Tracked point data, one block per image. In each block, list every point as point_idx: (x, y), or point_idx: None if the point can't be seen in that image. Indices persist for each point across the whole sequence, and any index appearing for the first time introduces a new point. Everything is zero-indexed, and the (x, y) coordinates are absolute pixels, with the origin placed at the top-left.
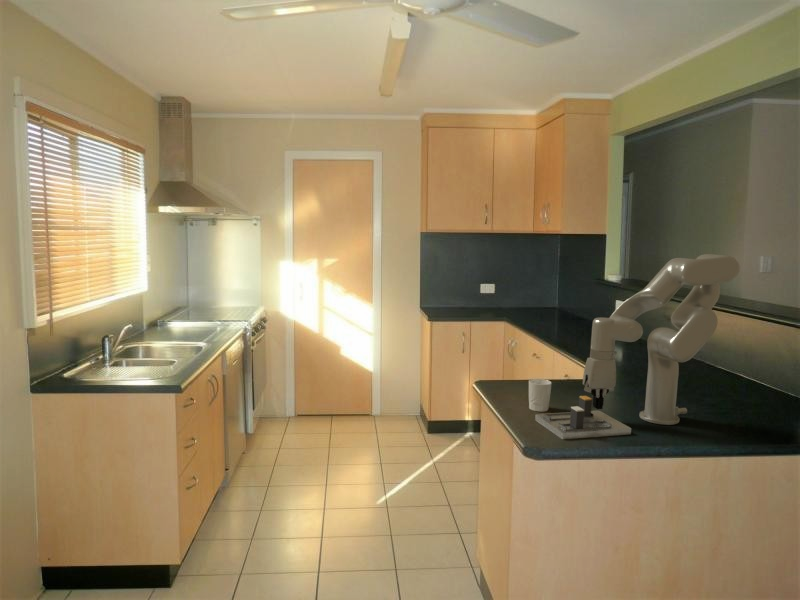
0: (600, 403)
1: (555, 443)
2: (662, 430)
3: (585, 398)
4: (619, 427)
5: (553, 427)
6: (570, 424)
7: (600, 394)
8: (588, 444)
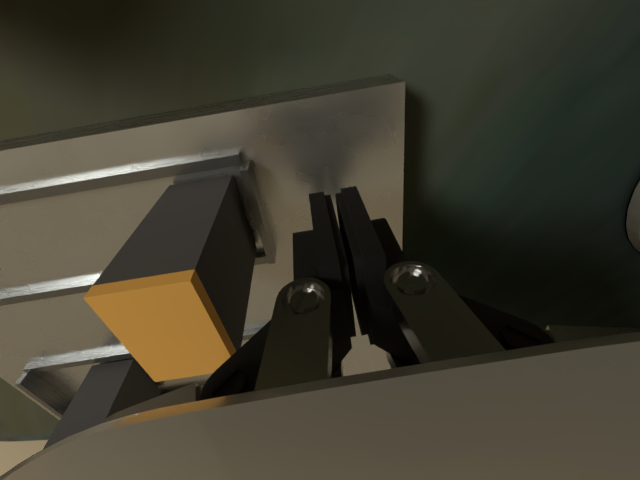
0: (351, 288)
1: (51, 415)
2: (567, 308)
3: (161, 364)
4: (349, 368)
5: (3, 372)
6: (93, 372)
7: (384, 337)
8: None
